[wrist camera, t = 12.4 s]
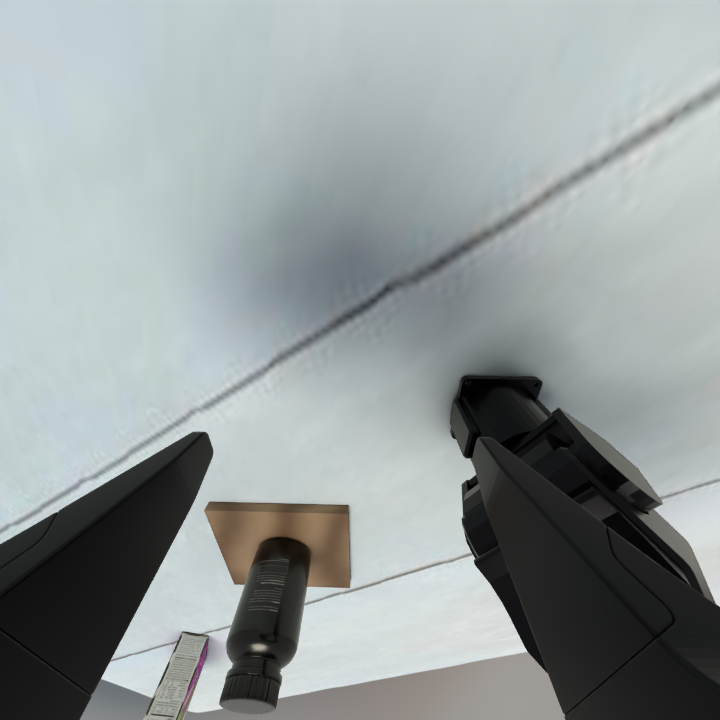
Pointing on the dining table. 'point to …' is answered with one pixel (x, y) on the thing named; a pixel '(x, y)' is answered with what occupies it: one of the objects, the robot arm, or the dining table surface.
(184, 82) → the dining table surface
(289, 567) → the supplement bottle
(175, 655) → the candy bar box
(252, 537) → the walnut board
